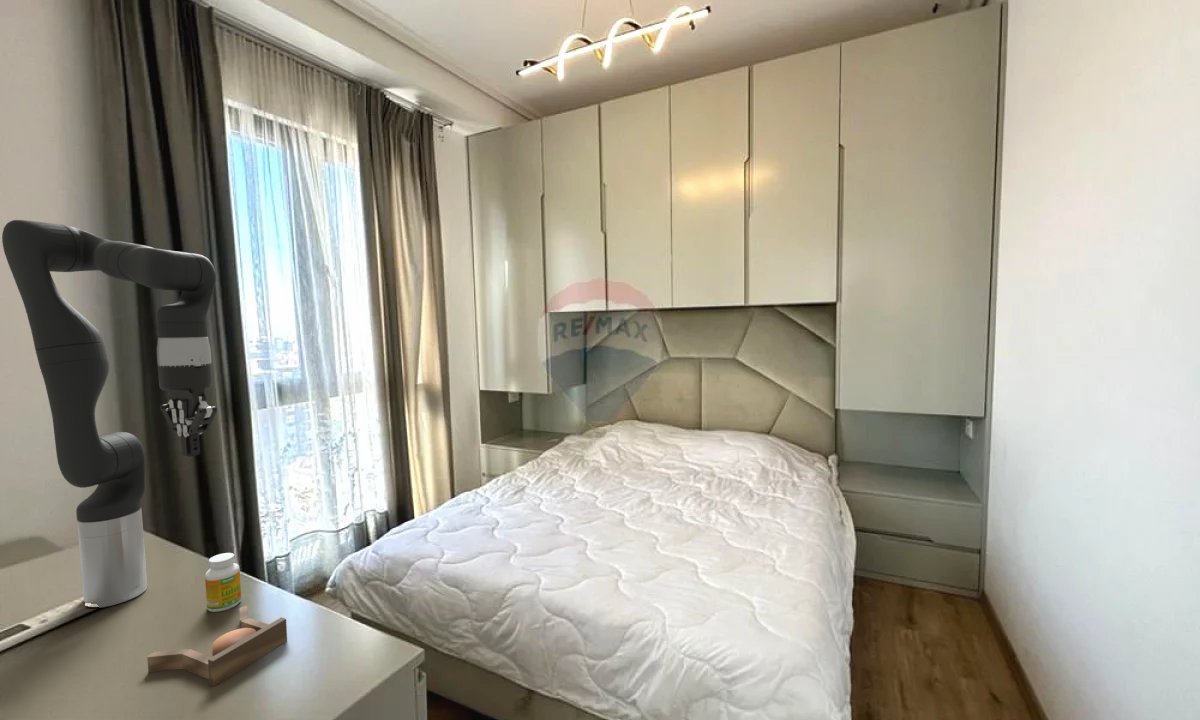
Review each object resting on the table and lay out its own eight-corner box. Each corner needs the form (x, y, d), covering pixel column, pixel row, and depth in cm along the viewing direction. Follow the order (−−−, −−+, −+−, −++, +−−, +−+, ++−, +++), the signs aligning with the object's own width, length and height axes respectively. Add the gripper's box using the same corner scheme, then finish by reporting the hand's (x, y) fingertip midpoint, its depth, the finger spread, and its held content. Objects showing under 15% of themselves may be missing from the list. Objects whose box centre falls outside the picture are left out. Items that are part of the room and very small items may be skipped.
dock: (146, 671, 78) (144, 647, 78) (246, 617, 93) (244, 597, 92) (200, 694, 73) (198, 669, 73) (297, 634, 88) (296, 612, 87)
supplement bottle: (222, 614, 94) (219, 565, 93) (199, 611, 95) (196, 562, 94) (248, 598, 99) (245, 552, 98) (226, 595, 100) (223, 549, 99)
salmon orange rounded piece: (204, 659, 81) (204, 645, 81) (243, 637, 87) (242, 624, 87) (227, 670, 79) (226, 655, 79) (265, 647, 84) (264, 633, 84)
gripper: (138, 362, 89) (145, 457, 90) (183, 364, 84) (190, 464, 85) (186, 360, 96) (192, 447, 97) (230, 361, 91) (236, 453, 92)
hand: (191, 455), depth 91 cm, fingers closed
